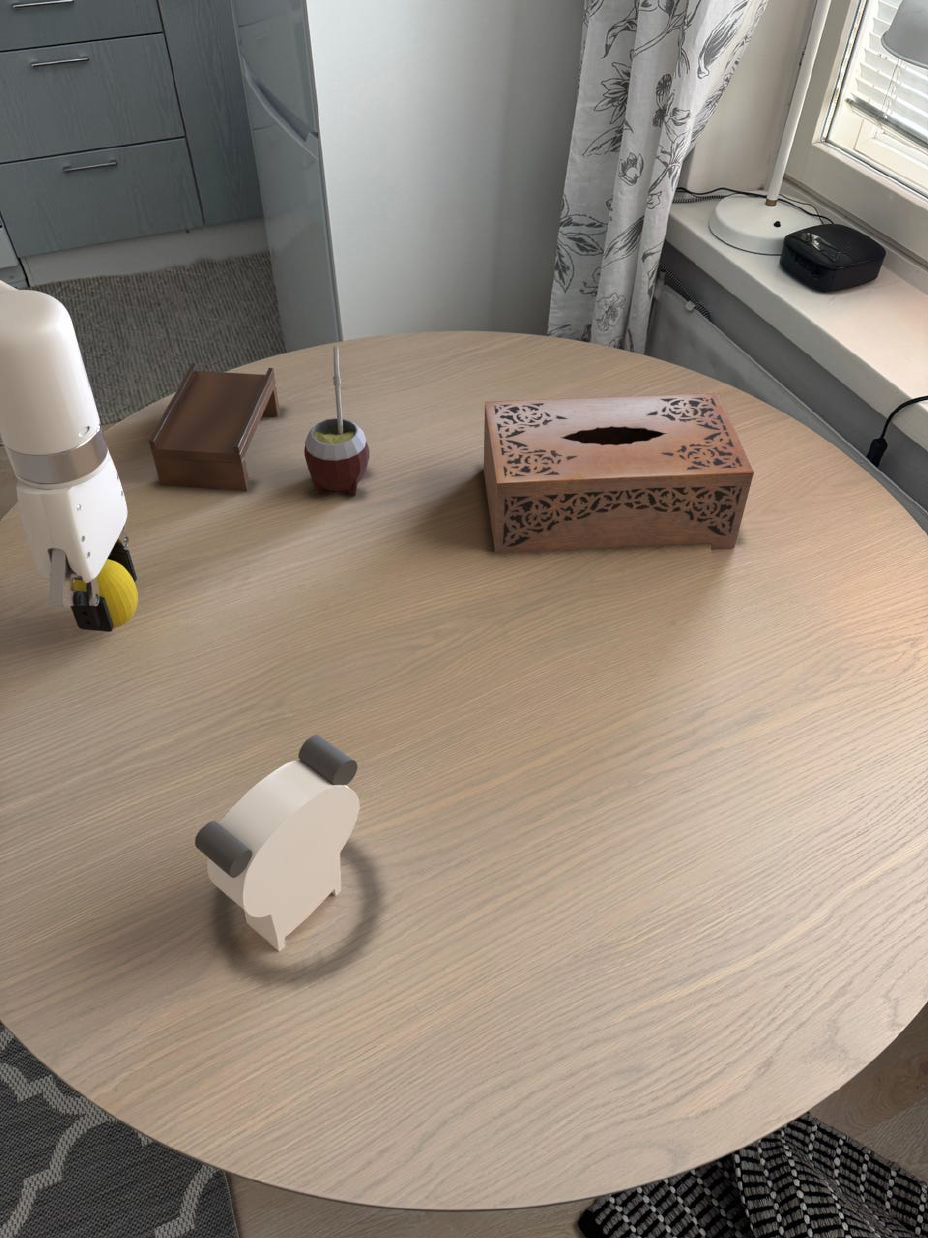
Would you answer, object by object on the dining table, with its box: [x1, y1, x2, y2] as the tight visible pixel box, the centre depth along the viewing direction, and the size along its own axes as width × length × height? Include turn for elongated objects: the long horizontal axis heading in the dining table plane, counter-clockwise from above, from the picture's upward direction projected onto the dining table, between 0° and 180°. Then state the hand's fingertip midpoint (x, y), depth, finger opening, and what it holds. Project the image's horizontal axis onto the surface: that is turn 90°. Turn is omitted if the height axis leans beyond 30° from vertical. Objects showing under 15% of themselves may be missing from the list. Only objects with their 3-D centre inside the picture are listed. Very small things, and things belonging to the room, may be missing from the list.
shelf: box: [148, 362, 281, 492], centre depth 116 cm, size 10×16×7 cm, turn 174°
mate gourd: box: [303, 345, 370, 497], centre depth 108 cm, size 8×8×15 cm
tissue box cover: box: [483, 392, 755, 553], centre depth 107 cm, size 26×14×10 cm, turn 94°
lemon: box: [73, 559, 139, 629], centre depth 93 cm, size 6×6×8 cm
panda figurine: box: [194, 734, 361, 952], centre depth 72 cm, size 12×11×15 cm
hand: (108, 602), depth 93 cm, fingers closed on lemon, 5 cm apart
